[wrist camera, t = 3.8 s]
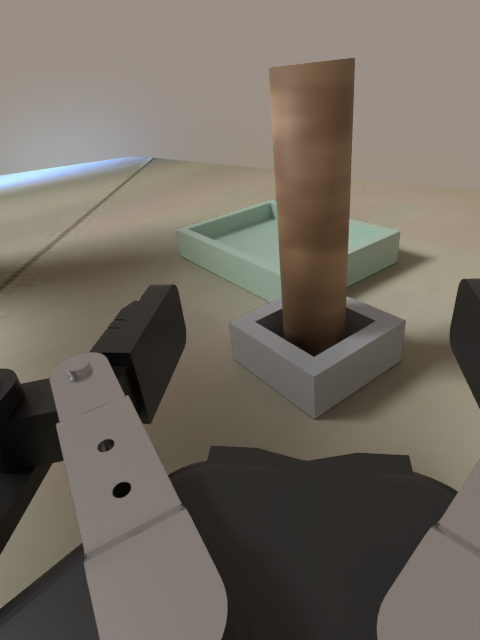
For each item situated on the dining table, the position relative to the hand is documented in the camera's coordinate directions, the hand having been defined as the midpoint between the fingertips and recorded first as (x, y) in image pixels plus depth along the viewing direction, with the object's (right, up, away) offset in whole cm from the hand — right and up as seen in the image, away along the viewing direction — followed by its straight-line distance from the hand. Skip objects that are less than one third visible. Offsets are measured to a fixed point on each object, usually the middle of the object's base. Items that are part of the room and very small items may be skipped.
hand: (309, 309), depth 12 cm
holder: (+2, -3, +11) cm, 11 cm away
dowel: (+2, -3, +11) cm, 11 cm away
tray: (+1, +5, +23) cm, 24 cm away
